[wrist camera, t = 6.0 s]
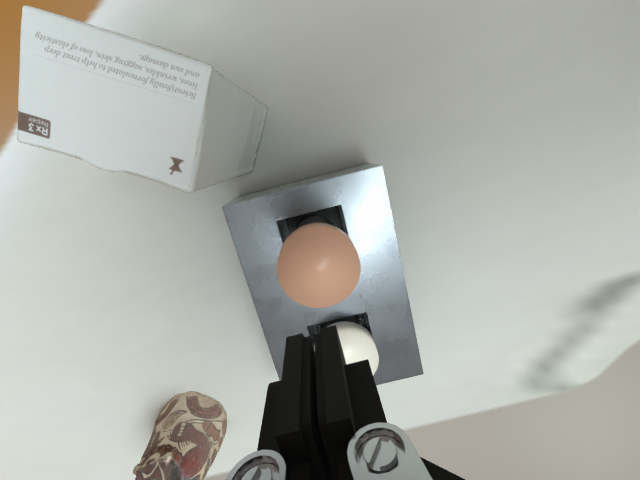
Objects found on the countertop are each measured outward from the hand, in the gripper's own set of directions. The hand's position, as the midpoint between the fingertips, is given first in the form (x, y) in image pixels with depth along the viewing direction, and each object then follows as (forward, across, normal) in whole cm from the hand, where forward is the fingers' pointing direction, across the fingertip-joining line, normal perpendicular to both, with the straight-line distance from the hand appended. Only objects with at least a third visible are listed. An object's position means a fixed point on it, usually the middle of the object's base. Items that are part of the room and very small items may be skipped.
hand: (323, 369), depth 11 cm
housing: (+21, 0, +4) cm, 21 cm away
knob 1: (+17, 0, 0) cm, 17 cm away
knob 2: (+20, 0, +9) cm, 22 cm away
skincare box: (+21, +6, -11) cm, 24 cm away
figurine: (+21, +18, +17) cm, 33 cm away
